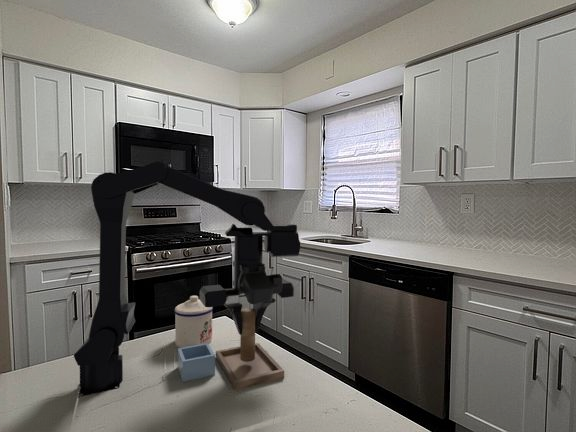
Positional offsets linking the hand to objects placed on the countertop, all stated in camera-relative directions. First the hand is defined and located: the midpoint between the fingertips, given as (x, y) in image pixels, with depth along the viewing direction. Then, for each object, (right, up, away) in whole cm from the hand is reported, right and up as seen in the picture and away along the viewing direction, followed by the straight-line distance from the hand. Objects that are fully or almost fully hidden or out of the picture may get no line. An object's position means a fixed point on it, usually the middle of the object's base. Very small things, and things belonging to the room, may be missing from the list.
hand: (247, 332), depth 68 cm
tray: (0, -8, 0) cm, 8 cm away
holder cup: (-10, -8, -1) cm, 13 cm away
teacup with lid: (-15, -7, +14) cm, 22 cm away
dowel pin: (0, -5, 0) cm, 5 cm away
